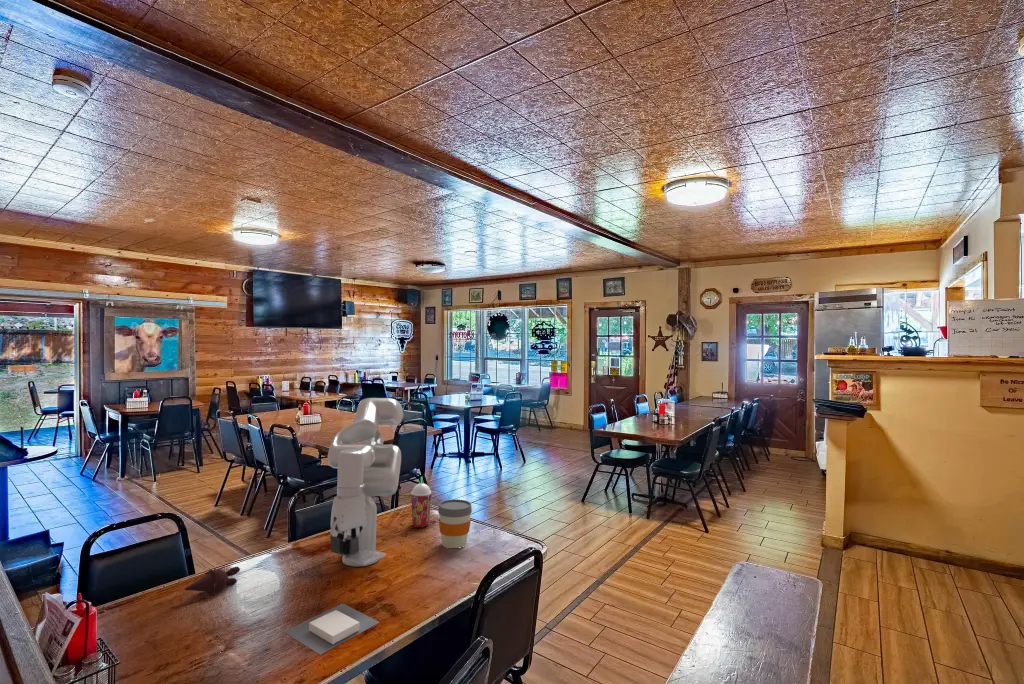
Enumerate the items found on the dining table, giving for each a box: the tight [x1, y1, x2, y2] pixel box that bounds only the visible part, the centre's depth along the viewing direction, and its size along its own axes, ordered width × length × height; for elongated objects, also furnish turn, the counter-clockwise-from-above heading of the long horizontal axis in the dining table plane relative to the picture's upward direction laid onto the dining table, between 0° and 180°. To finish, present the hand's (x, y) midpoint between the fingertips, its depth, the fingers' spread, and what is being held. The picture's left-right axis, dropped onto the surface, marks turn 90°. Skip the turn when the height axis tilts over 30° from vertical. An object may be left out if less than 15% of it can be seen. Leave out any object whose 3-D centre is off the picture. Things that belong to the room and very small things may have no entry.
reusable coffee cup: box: [437, 499, 473, 549], centre depth 193 cm, size 13×13×15 cm
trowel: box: [329, 534, 386, 565], centre depth 155 cm, size 19×8×5 cm, turn 55°
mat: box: [282, 603, 380, 656], centre depth 135 cm, size 16×18×1 cm
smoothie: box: [410, 476, 432, 528], centre depth 211 cm, size 8×8×20 cm
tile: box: [309, 610, 360, 644], centre depth 133 cm, size 2×8×10 cm
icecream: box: [184, 566, 241, 596], centre depth 152 cm, size 7×7×15 cm
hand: (348, 550), depth 156 cm, fingers closed on trowel, 2 cm apart
